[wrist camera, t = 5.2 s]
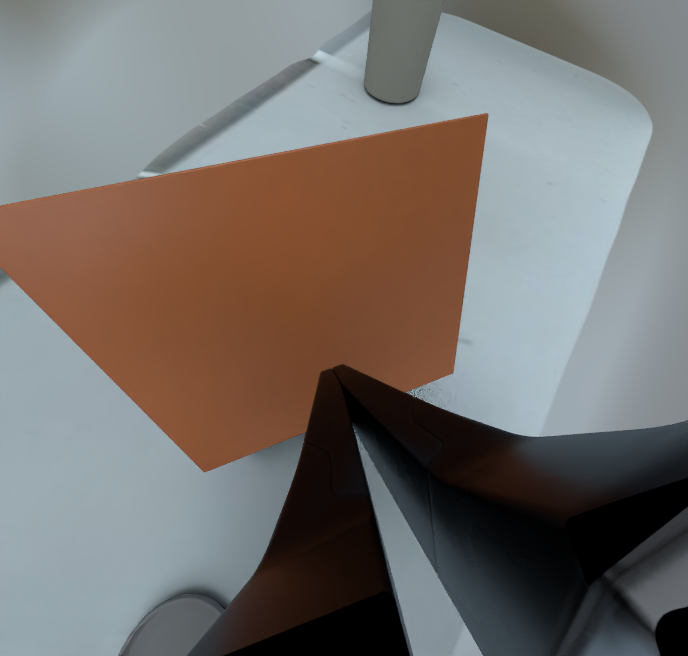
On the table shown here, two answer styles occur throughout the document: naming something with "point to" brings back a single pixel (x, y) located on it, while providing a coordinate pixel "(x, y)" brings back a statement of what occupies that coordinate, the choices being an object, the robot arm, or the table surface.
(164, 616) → the pocket watch
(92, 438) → the table surface
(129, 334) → the box lid
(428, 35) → the travel mug
